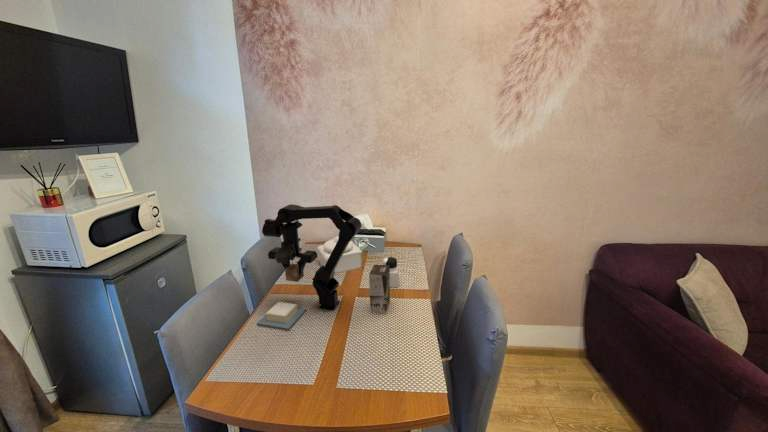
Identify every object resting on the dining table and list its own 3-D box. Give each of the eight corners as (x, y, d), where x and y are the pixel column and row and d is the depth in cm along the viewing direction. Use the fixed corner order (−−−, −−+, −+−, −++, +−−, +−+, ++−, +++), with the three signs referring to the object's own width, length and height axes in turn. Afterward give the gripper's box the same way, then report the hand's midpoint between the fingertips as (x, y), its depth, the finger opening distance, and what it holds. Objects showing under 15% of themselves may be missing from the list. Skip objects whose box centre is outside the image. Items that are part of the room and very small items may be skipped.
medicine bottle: (398, 279, 149) (398, 255, 146) (397, 287, 142) (397, 262, 139) (383, 279, 150) (382, 255, 146) (381, 287, 143) (380, 262, 140)
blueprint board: (306, 310, 127) (305, 301, 126) (288, 331, 115) (287, 321, 114) (277, 306, 130) (276, 297, 129) (256, 325, 118) (255, 315, 117)
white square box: (318, 261, 170) (315, 233, 166) (351, 255, 178) (349, 227, 173) (327, 275, 155) (324, 244, 151) (362, 267, 162) (361, 237, 158)
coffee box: (386, 314, 123) (385, 275, 119) (369, 312, 125) (368, 274, 120) (390, 301, 132) (390, 264, 127) (375, 299, 133) (374, 263, 129)
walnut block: (303, 276, 132) (302, 264, 131) (297, 281, 127) (296, 270, 126) (292, 274, 133) (291, 263, 132) (286, 280, 129) (284, 268, 127)
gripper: (256, 243, 121) (262, 281, 125) (301, 247, 116) (305, 287, 120) (274, 233, 131) (278, 268, 135) (316, 237, 126) (319, 273, 130)
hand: (294, 274), depth 130 cm, fingers closed on walnut block, 5 cm apart
